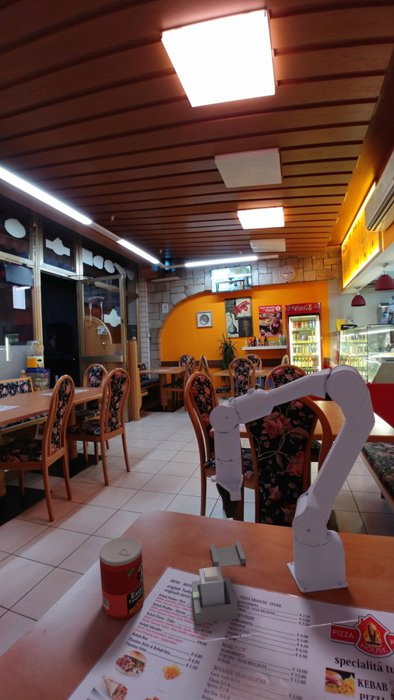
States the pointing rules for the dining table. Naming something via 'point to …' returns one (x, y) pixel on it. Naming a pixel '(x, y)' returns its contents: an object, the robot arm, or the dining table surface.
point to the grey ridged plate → (227, 555)
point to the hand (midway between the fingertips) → (230, 516)
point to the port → (215, 611)
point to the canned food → (122, 577)
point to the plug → (211, 587)
